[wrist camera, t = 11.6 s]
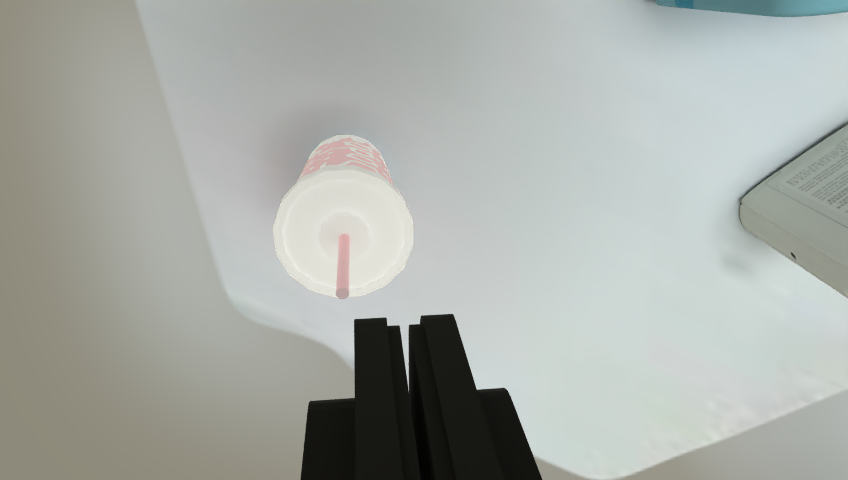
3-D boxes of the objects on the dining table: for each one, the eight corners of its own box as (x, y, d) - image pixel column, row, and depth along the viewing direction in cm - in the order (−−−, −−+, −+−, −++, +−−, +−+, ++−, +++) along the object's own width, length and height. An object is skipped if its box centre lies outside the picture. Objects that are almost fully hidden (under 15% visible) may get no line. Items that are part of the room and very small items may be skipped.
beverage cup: (420, 156, 34) (460, 264, 21) (365, 240, 36) (372, 387, 23) (325, 99, 32) (307, 181, 19) (273, 191, 34) (224, 321, 21)
